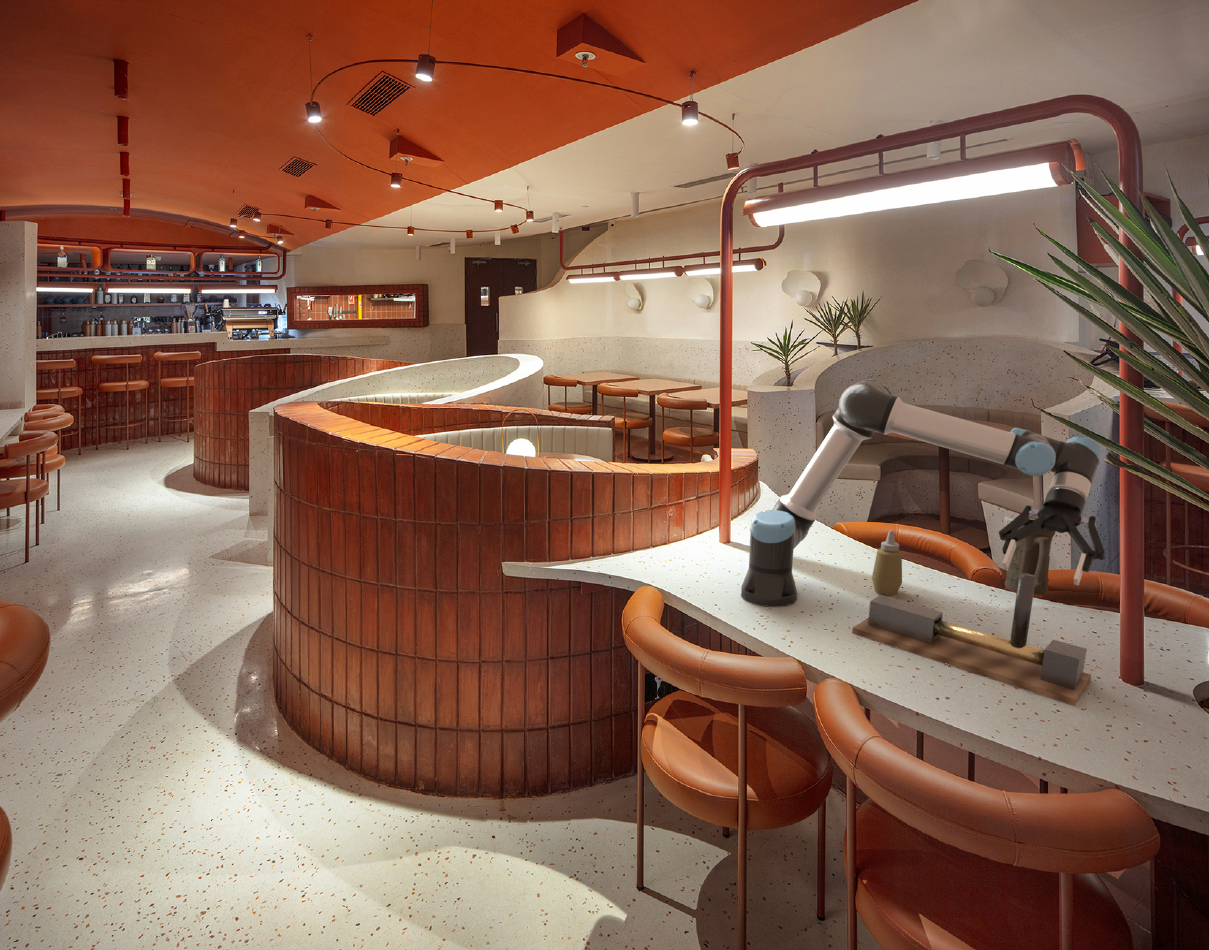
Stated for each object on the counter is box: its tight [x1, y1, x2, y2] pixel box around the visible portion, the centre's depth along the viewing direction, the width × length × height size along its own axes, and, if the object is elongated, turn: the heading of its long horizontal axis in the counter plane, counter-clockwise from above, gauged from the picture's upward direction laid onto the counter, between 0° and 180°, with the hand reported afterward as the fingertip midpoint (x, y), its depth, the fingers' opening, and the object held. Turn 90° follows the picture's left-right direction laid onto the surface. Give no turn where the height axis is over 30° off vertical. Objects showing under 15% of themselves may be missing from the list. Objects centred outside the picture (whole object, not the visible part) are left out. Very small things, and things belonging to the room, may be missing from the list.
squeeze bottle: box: [871, 530, 903, 596], centre depth 190 cm, size 8×8×18 cm
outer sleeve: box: [868, 594, 944, 644], centre depth 162 cm, size 15×6×6 cm, turn 45°
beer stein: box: [1004, 518, 1056, 596], centre depth 191 cm, size 15×11×20 cm
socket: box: [1040, 639, 1088, 690], centre depth 140 cm, size 6×7×7 cm
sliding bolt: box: [934, 573, 1045, 666], centre depth 147 cm, size 27×3×19 cm, turn 45°
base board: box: [851, 616, 1092, 707], centre depth 154 cm, size 46×14×2 cm, turn 45°
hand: (1039, 574), depth 148 cm, fingers open, 13 cm apart
